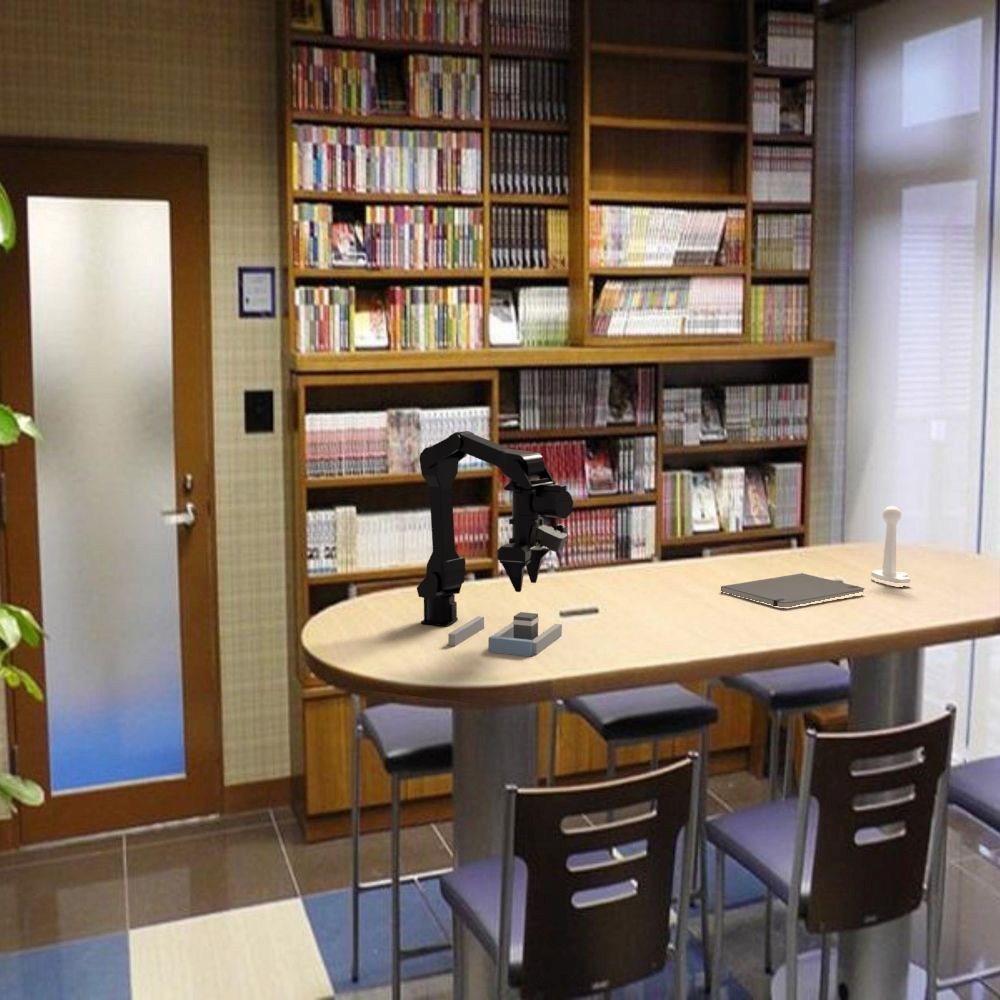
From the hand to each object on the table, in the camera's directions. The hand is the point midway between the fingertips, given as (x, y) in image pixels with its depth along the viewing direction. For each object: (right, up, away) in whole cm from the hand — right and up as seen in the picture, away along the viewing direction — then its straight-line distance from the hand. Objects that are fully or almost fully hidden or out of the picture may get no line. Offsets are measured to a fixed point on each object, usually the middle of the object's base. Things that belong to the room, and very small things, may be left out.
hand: (526, 587), depth 255 cm
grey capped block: (0, -12, +2) cm, 12 cm away
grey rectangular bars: (-4, -12, +3) cm, 13 cm away
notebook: (+67, -6, +46) cm, 81 cm away
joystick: (+95, -3, +58) cm, 112 cm away
